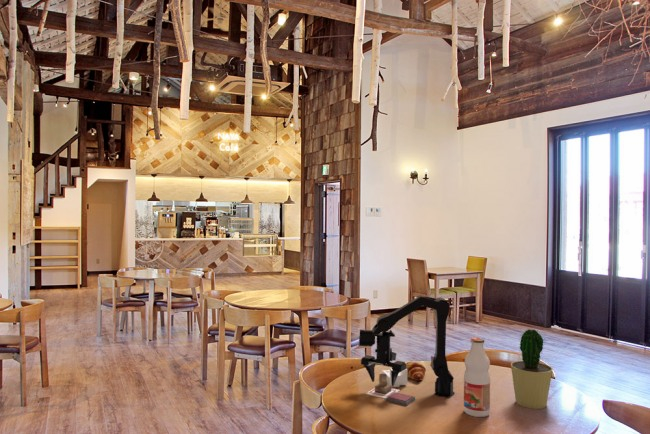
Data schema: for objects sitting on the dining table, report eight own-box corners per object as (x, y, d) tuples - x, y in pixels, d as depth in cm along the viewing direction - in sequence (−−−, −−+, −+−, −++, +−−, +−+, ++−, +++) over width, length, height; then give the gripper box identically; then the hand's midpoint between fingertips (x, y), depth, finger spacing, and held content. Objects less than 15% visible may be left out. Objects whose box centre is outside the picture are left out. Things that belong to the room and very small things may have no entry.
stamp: (391, 391, 211) (391, 374, 211) (385, 394, 206) (385, 377, 206) (380, 388, 213) (380, 372, 213) (374, 392, 209) (375, 375, 209)
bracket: (407, 386, 218) (407, 369, 218) (391, 387, 217) (391, 370, 217) (396, 377, 231) (397, 360, 231) (382, 378, 229) (382, 361, 229)
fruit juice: (494, 417, 185) (494, 341, 185) (469, 418, 184) (470, 342, 184) (483, 407, 194) (484, 335, 194) (460, 408, 193) (460, 335, 193)
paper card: (399, 390, 212) (399, 389, 212) (387, 399, 202) (387, 398, 202) (378, 386, 218) (378, 385, 218) (365, 394, 208) (365, 393, 208)
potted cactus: (527, 412, 190) (528, 333, 190) (502, 398, 205) (503, 324, 204) (561, 408, 194) (562, 331, 194) (534, 395, 209) (535, 323, 209)
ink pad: (415, 399, 202) (415, 395, 202) (406, 405, 195) (406, 402, 195) (394, 395, 207) (394, 391, 207) (386, 400, 200) (386, 397, 200)
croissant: (403, 375, 243) (396, 361, 243) (421, 366, 244) (414, 351, 243) (413, 390, 222) (405, 374, 222) (433, 379, 222) (425, 363, 222)
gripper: (411, 345, 211) (411, 382, 211) (372, 339, 222) (372, 374, 222) (400, 351, 202) (400, 390, 202) (360, 344, 212) (360, 381, 212)
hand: (383, 383), depth 210 cm, fingers open, 9 cm apart
